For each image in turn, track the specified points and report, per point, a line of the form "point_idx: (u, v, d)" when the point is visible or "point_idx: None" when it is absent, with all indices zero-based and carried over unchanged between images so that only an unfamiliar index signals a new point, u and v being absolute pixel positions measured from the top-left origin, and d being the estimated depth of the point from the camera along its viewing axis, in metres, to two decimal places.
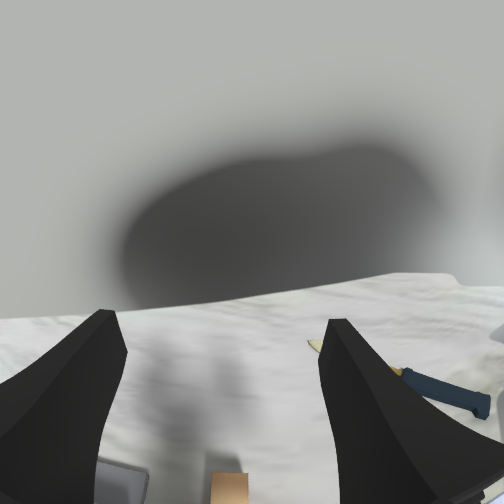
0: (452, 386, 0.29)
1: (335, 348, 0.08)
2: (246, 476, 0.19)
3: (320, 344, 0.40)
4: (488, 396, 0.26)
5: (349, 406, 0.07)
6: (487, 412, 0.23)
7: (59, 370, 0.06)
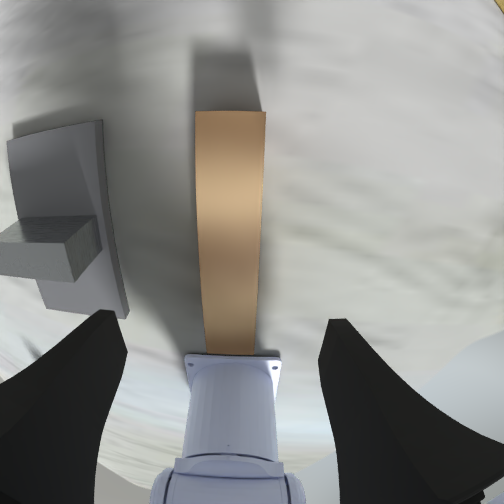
0: None
1: (335, 348, 0.08)
2: (262, 119, 0.11)
3: None
4: None
5: (349, 406, 0.07)
6: None
7: (59, 370, 0.06)
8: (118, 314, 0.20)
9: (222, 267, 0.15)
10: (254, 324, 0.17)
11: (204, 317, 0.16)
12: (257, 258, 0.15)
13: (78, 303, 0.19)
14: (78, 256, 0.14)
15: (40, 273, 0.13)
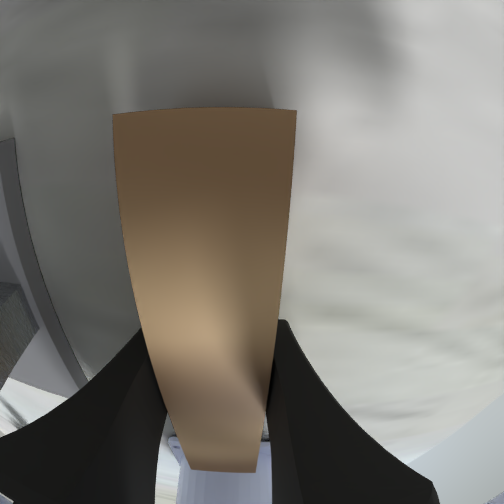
0: None
1: None
2: (286, 130, 0.04)
3: None
4: None
5: (275, 411, 0.07)
6: None
7: (129, 385, 0.06)
8: None
9: (203, 406, 0.08)
10: (256, 454, 0.09)
11: (182, 446, 0.09)
12: (264, 398, 0.07)
13: (31, 377, 0.12)
14: None
15: None
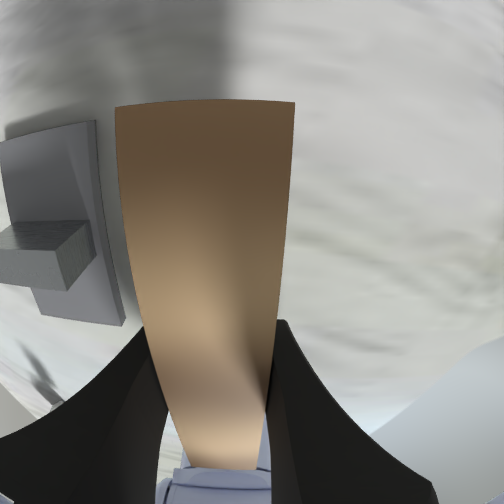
0: None
1: None
2: (285, 122, 0.04)
3: None
4: None
5: (274, 411, 0.07)
6: None
7: (129, 385, 0.06)
8: (114, 321, 0.19)
9: (203, 401, 0.08)
10: (257, 450, 0.09)
11: (182, 442, 0.09)
12: (264, 391, 0.07)
13: (73, 310, 0.19)
14: (70, 263, 0.13)
15: (32, 280, 0.13)
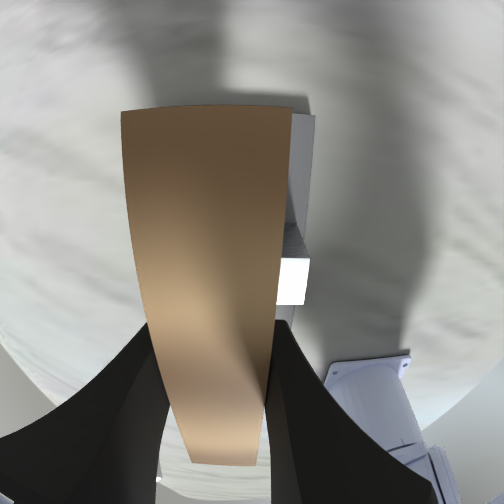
0: None
1: None
2: (282, 126, 0.05)
3: None
4: None
5: (274, 411, 0.07)
6: None
7: (129, 385, 0.06)
8: None
9: (204, 396, 0.08)
10: (257, 445, 0.10)
11: (183, 437, 0.09)
12: (263, 386, 0.08)
13: None
14: None
15: None
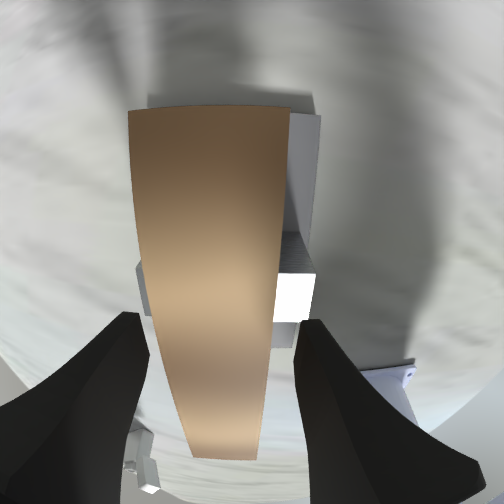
0: None
1: (306, 349, 0.08)
2: (281, 125, 0.05)
3: None
4: None
5: (317, 409, 0.07)
6: None
7: (88, 377, 0.06)
8: (285, 343, 0.18)
9: (205, 387, 0.08)
10: (257, 438, 0.10)
11: (185, 431, 0.10)
12: (264, 377, 0.08)
13: None
14: None
15: None
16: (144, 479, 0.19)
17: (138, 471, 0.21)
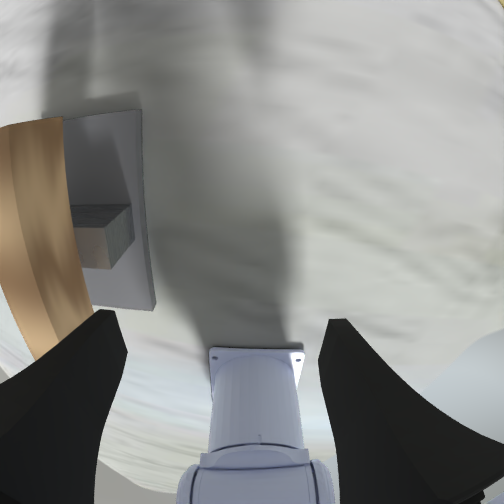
0: None
1: (335, 348, 0.08)
2: (6, 134, 0.07)
3: None
4: None
5: (349, 406, 0.07)
6: None
7: (59, 370, 0.06)
8: (145, 306, 0.20)
9: (16, 293, 0.10)
10: None
11: (25, 341, 0.12)
12: (36, 286, 0.10)
13: (103, 295, 0.20)
14: (115, 243, 0.15)
15: None
16: None
17: None
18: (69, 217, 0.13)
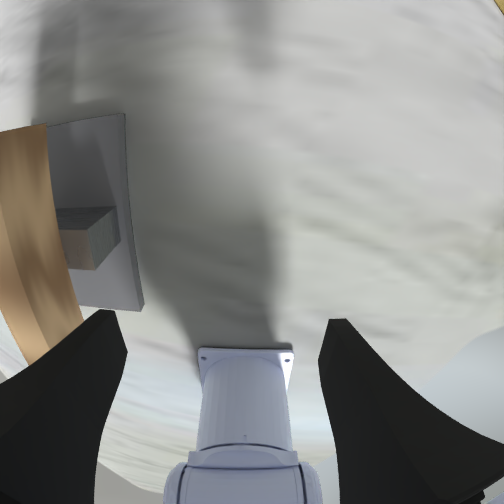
0: None
1: (335, 348, 0.08)
2: None
3: None
4: None
5: (349, 406, 0.07)
6: None
7: (59, 370, 0.06)
8: (133, 307, 0.20)
9: (5, 293, 0.10)
10: None
11: (15, 340, 0.12)
12: (22, 286, 0.10)
13: (92, 296, 0.20)
14: (99, 244, 0.15)
15: None
16: None
17: None
18: (55, 220, 0.13)
